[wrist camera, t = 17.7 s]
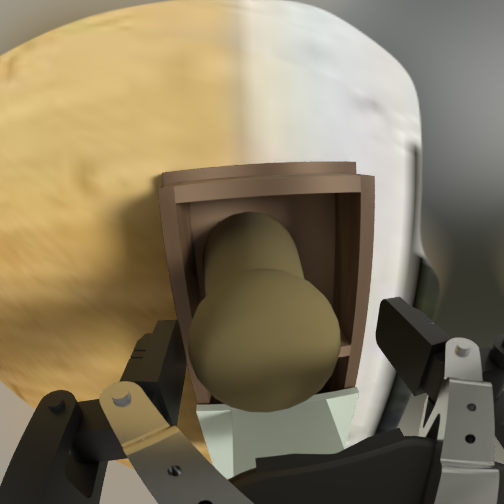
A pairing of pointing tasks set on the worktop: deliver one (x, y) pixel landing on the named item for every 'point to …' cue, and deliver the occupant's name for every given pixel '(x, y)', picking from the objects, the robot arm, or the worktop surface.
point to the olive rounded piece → (260, 319)
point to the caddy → (300, 226)
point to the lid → (276, 430)
